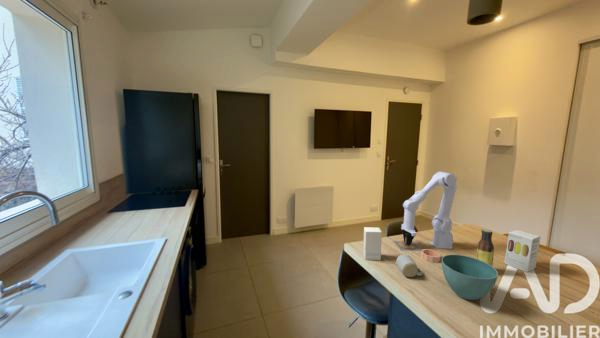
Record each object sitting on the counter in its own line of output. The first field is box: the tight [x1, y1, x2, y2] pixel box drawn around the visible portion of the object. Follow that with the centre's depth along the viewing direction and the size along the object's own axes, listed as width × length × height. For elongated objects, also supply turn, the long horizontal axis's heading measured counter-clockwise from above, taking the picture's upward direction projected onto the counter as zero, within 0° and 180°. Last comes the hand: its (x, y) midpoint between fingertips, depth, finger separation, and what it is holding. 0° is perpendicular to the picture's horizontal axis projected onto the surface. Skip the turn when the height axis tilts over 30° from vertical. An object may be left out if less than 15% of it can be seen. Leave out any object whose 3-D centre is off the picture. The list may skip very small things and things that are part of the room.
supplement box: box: [503, 229, 541, 273], centre depth 116 cm, size 10×9×17 cm
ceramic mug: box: [395, 253, 423, 278], centre depth 108 cm, size 11×8×8 cm
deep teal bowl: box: [441, 254, 499, 301], centre depth 94 cm, size 18×18×12 cm
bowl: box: [420, 248, 442, 264], centre depth 123 cm, size 9×9×3 cm
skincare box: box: [362, 226, 383, 261], centre depth 122 cm, size 8×7×16 cm
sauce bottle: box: [475, 228, 495, 267], centre depth 111 cm, size 7×6×20 cm
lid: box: [398, 237, 417, 250], centre depth 136 cm, size 10×10×5 cm
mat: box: [392, 240, 423, 252], centre depth 137 cm, size 12×12×1 cm
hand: (407, 243), depth 136 cm, fingers open, 3 cm apart
